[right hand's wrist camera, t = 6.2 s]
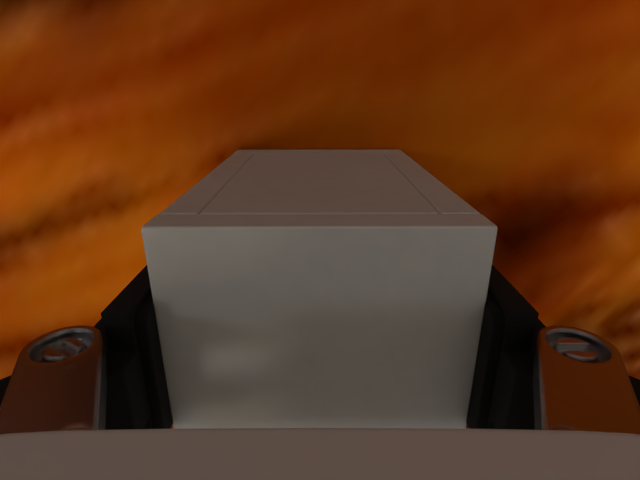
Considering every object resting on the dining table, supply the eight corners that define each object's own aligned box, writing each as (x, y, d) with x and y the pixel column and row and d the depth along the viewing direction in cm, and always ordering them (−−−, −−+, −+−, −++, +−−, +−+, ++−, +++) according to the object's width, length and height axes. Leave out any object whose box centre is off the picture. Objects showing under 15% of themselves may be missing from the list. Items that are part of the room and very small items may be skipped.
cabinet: (379, 462, 22) (420, 715, 13) (259, 463, 22) (219, 716, 13) (401, 149, 16) (498, 226, 7) (236, 149, 16) (140, 226, 7)
